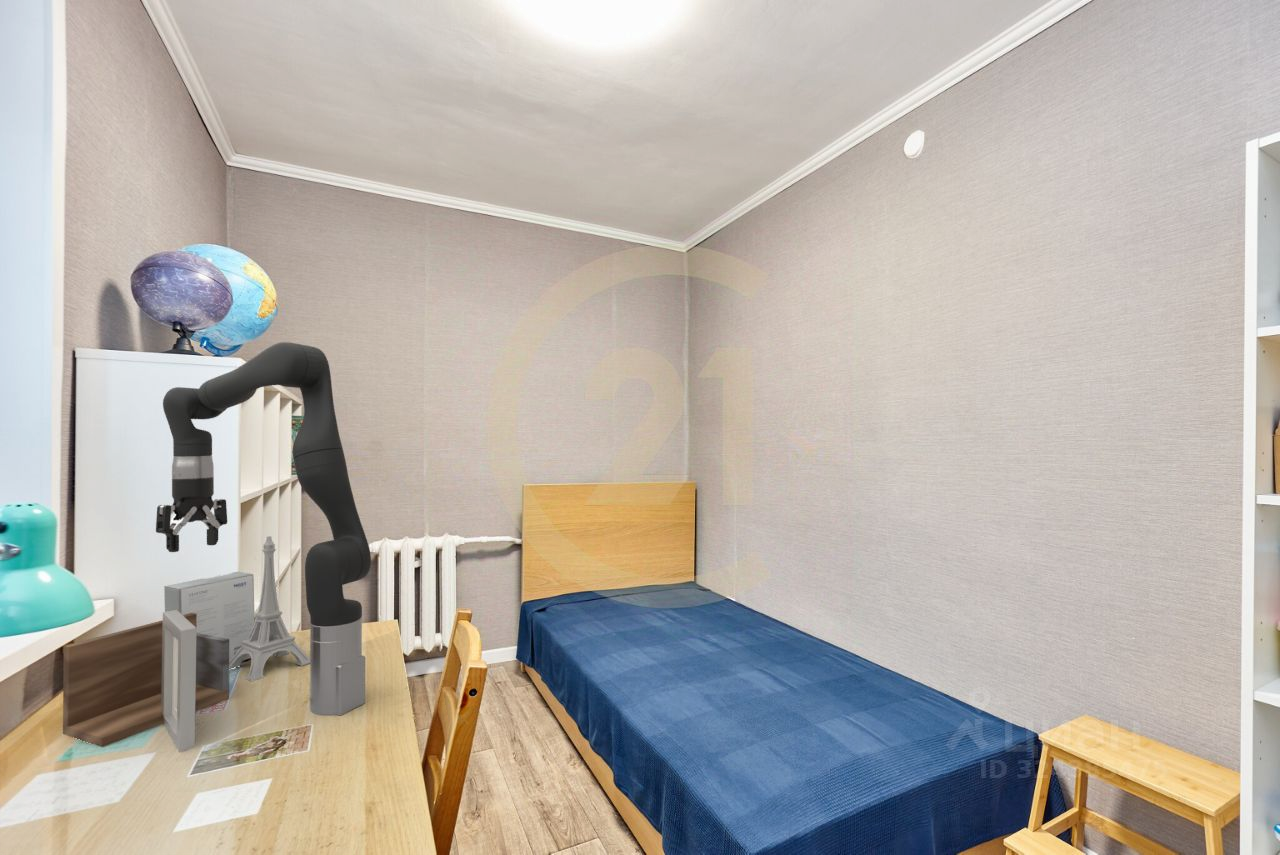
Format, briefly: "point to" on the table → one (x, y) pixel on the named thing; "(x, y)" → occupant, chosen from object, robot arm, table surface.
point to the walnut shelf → (132, 682)
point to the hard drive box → (217, 606)
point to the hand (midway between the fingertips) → (193, 548)
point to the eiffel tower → (267, 626)
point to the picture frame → (178, 679)
